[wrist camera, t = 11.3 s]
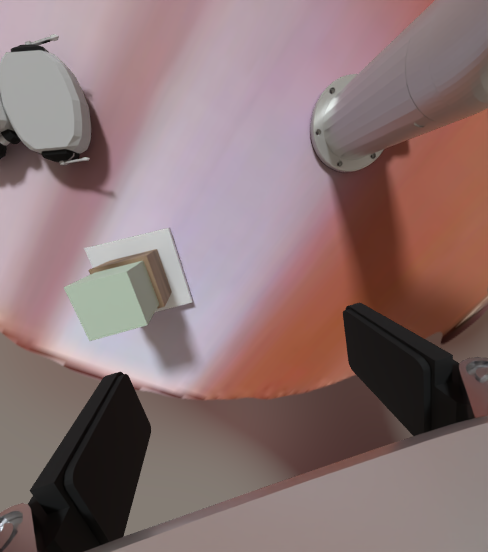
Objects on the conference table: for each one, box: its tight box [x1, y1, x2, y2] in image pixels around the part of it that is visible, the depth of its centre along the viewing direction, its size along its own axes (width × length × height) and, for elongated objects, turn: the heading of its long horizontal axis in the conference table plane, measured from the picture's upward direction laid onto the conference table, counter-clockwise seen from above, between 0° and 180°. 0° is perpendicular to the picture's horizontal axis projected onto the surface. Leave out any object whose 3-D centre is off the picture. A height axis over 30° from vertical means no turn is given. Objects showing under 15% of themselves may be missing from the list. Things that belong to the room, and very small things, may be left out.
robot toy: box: [0, 34, 91, 165], centre depth 27 cm, size 12×4×15 cm
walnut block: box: [89, 249, 172, 309], centre depth 32 cm, size 7×7×6 cm
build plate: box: [84, 228, 193, 312], centre depth 35 cm, size 12×12×1 cm
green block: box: [64, 261, 159, 341], centre depth 26 cm, size 6×6×6 cm
